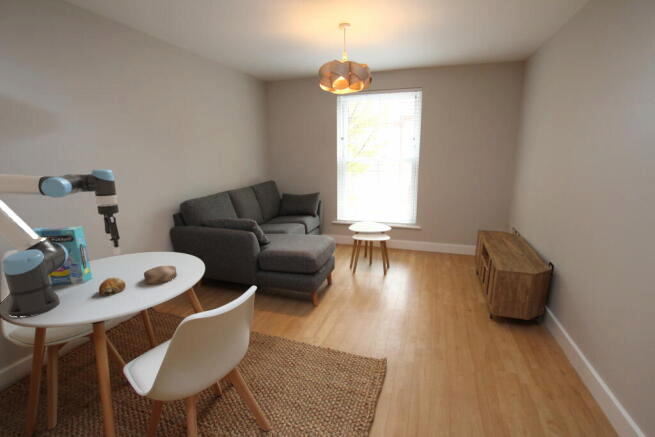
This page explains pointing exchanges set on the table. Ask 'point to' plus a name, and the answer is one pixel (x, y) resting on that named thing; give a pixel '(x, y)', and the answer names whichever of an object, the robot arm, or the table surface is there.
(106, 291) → the bread roll
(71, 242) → the game box
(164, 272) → the walnut stand
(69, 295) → the table surface
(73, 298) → the table surface
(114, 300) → the table surface
